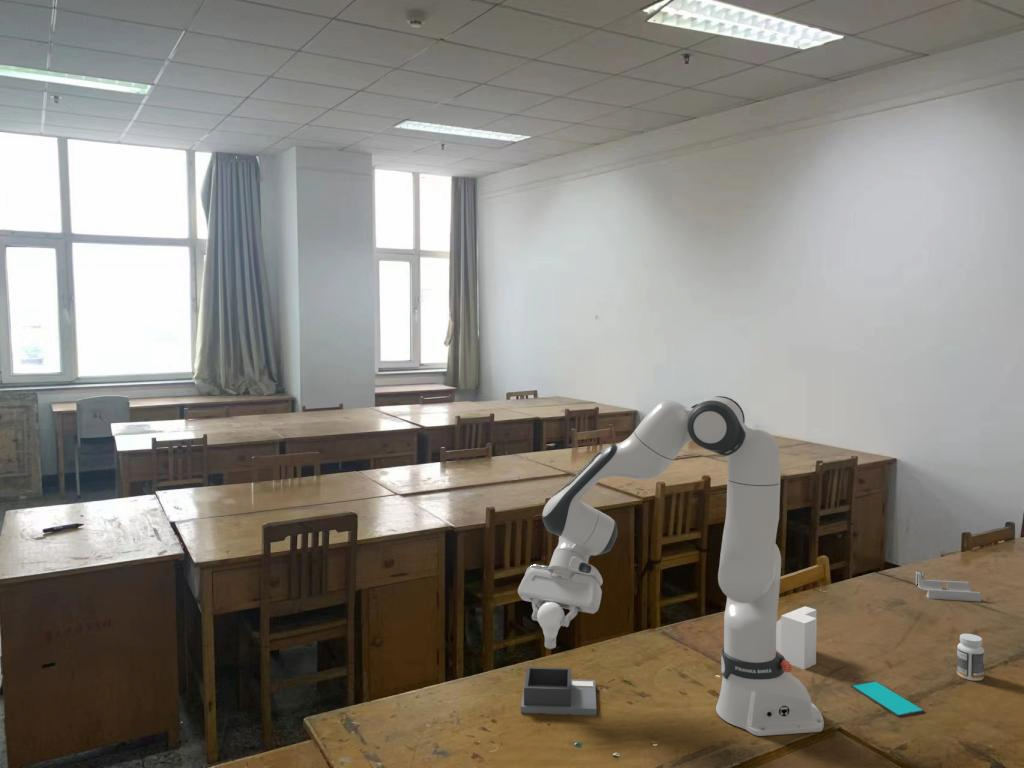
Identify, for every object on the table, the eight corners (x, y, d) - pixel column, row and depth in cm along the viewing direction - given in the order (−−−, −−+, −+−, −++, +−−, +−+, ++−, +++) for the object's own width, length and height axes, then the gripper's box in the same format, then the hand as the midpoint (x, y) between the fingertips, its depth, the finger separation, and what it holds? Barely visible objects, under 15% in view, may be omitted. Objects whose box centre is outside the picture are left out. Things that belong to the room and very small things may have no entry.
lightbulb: (561, 655, 169) (562, 609, 169) (534, 652, 171) (535, 606, 170) (565, 644, 176) (566, 599, 175) (539, 641, 177) (539, 596, 176)
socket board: (595, 685, 180) (594, 663, 179) (596, 715, 166) (596, 691, 165) (525, 683, 181) (524, 661, 181) (520, 712, 167) (520, 689, 167)
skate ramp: (928, 599, 236) (928, 584, 235) (915, 585, 248) (915, 570, 248) (981, 602, 232) (981, 586, 232) (965, 588, 245) (965, 573, 245)
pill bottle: (981, 673, 184) (983, 634, 183) (985, 683, 179) (986, 643, 178) (955, 669, 186) (956, 630, 186) (958, 679, 181) (959, 639, 180)
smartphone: (875, 680, 180) (925, 710, 166) (875, 683, 180) (924, 714, 166) (849, 685, 178) (897, 715, 164) (849, 688, 178) (897, 719, 164)
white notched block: (804, 669, 187) (804, 623, 186) (765, 654, 196) (765, 610, 196) (827, 658, 193) (828, 613, 193) (788, 644, 203) (789, 601, 202)
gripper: (524, 556, 183) (505, 608, 175) (602, 569, 173) (585, 624, 165) (533, 569, 187) (515, 620, 179) (609, 582, 177) (593, 636, 169)
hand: (549, 622), depth 172 cm, fingers closed on lightbulb, 6 cm apart
